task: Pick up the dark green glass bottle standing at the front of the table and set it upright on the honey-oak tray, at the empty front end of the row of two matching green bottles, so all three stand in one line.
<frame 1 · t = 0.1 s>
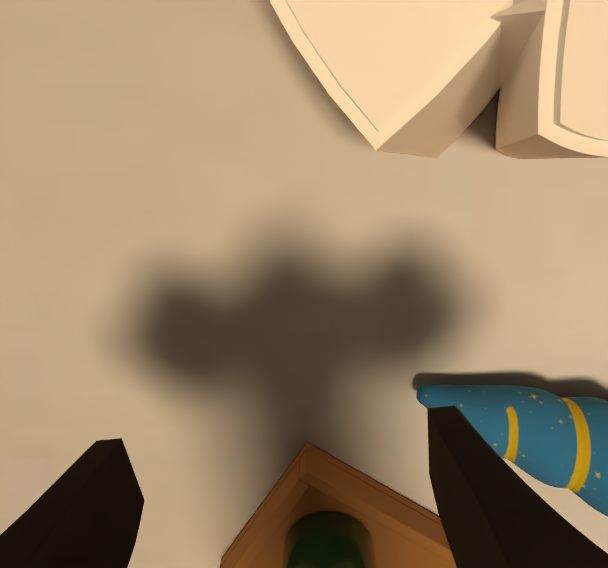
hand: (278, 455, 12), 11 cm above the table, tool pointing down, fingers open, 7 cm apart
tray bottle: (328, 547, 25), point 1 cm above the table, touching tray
ornament: (411, 394, 22), point 1 cm above the table
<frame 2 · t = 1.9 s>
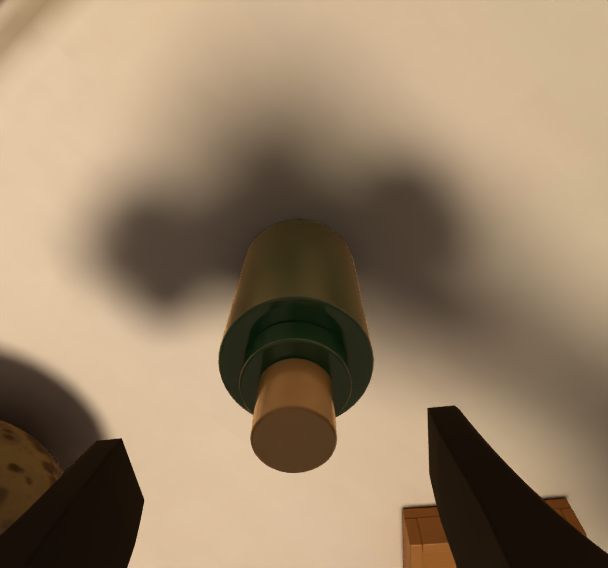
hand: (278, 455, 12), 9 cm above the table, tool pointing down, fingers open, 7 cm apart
green bottle: (299, 271, 20), on the table
decorative egg: (6, 447, 25), on the table
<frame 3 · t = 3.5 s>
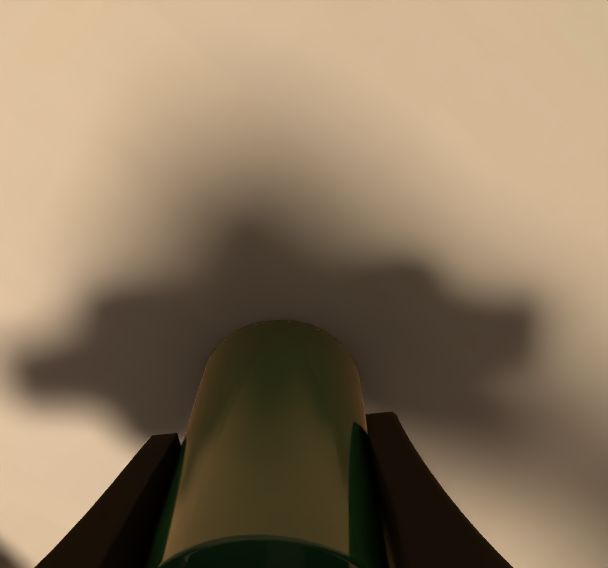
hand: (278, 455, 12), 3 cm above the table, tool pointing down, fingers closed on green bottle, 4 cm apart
green bottle: (281, 387, 14), on the table, touching gripper
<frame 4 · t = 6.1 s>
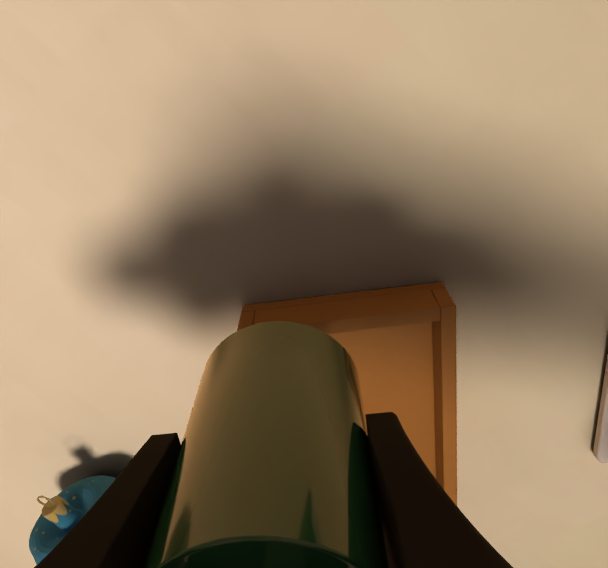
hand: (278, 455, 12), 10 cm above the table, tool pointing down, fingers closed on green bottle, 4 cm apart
tray: (364, 492, 26), on the table
green bottle: (281, 387, 14), point 7 cm above the table, touching gripper
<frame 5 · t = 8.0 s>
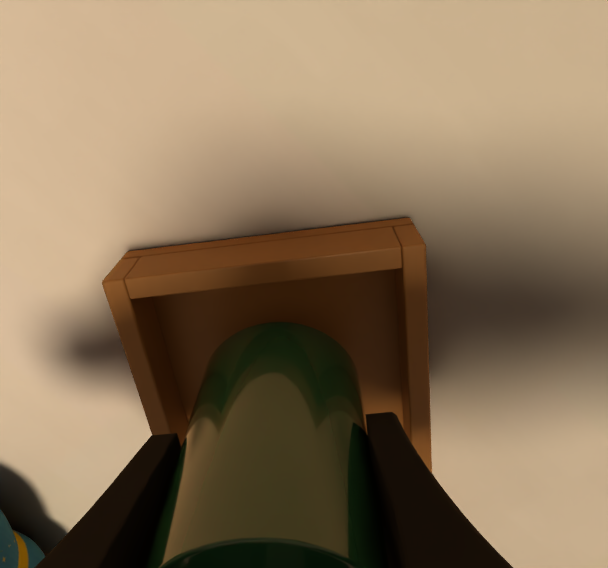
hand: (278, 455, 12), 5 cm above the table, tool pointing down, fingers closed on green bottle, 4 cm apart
tray: (313, 512, 19), on the table
green bottle: (281, 388, 14), point 2 cm above the table, touching gripper
when the fingers open (3 cm above the table, at t = 8.9 s): green bottle stays where it is, resting on tray.
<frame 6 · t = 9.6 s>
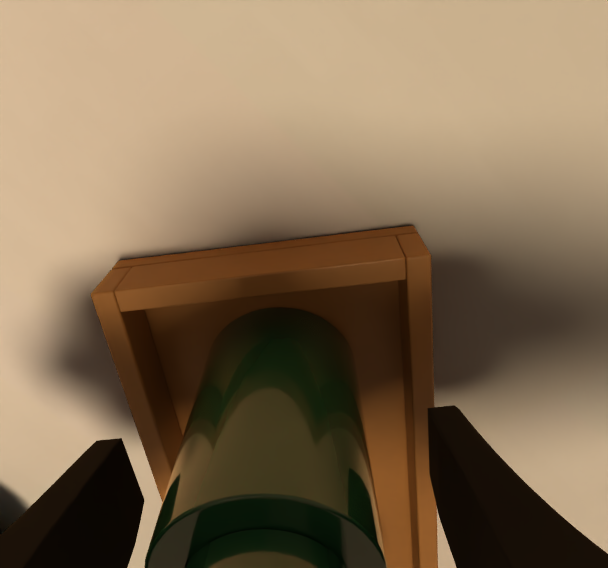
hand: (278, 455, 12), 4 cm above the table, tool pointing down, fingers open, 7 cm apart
tray: (313, 528, 19), on the table
green bottle: (281, 371, 15), point 1 cm above the table, touching tray
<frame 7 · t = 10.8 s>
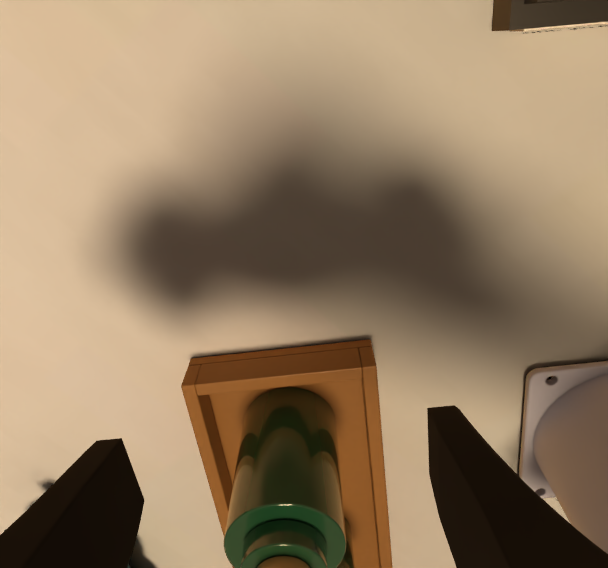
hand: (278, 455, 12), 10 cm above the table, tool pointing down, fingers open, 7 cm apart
tray bottle middle: (310, 532, 27), point 1 cm above the table, touching tray
tray: (310, 522, 28), on the table
green bottle: (289, 424, 24), point 1 cm above the table, touching tray
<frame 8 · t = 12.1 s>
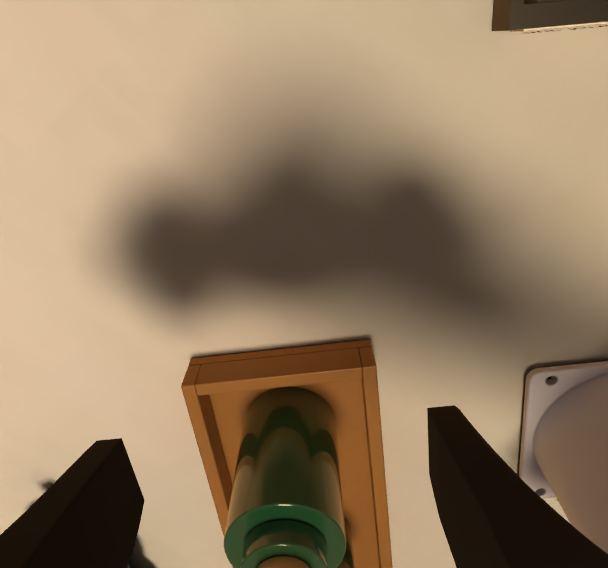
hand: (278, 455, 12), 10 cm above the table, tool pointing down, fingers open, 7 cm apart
tray bottle middle: (310, 532, 27), point 1 cm above the table, touching tray
tray: (310, 522, 28), on the table
green bottle: (289, 424, 24), point 1 cm above the table, touching tray
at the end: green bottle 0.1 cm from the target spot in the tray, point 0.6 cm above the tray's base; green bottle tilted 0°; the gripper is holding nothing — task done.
